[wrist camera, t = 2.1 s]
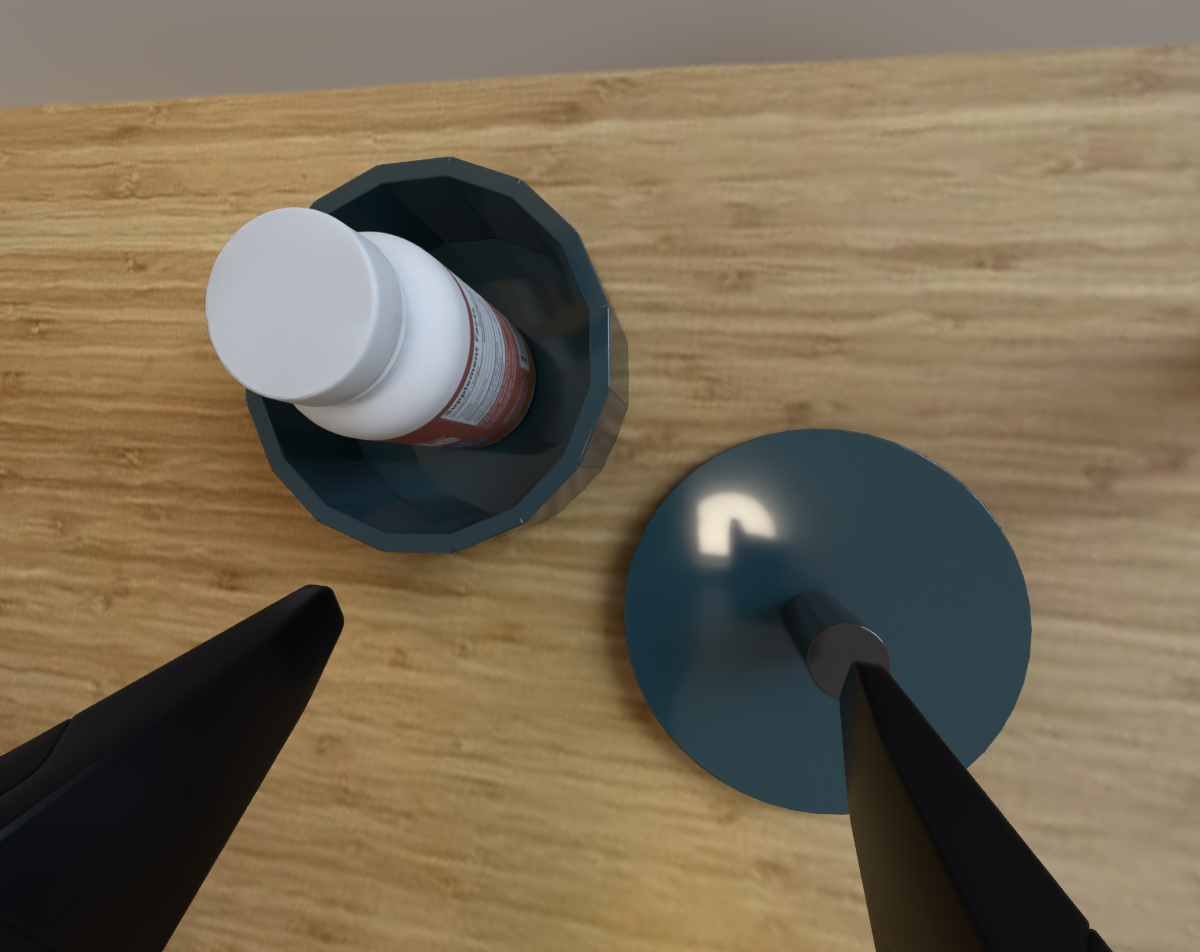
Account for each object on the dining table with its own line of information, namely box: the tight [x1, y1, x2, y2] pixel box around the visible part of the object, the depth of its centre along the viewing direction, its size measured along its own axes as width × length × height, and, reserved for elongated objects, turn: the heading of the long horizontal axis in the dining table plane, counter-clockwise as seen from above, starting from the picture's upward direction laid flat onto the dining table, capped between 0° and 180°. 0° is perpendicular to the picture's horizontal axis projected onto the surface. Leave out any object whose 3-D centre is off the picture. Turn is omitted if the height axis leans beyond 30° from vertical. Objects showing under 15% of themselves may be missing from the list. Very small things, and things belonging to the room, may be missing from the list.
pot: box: [246, 157, 629, 553], centre depth 21 cm, size 14×14×5 cm
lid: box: [624, 429, 1032, 815], centre depth 19 cm, size 15×15×6 cm
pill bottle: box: [205, 207, 536, 449], centre depth 18 cm, size 6×6×11 cm
